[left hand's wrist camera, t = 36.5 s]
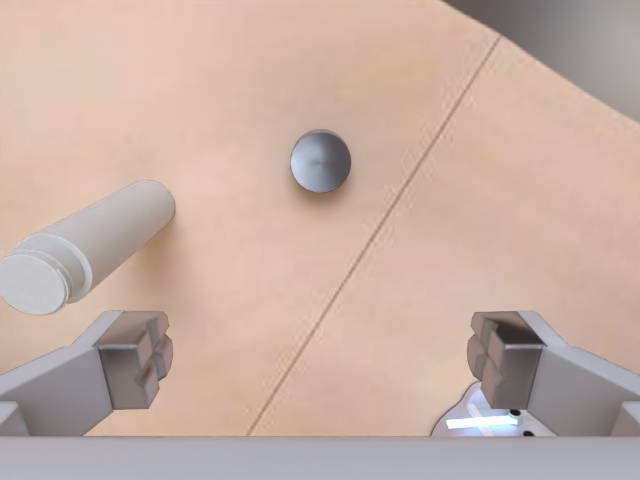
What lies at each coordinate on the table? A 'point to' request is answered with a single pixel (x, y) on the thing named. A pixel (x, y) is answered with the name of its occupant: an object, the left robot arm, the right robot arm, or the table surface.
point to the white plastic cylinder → (83, 248)
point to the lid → (320, 161)
